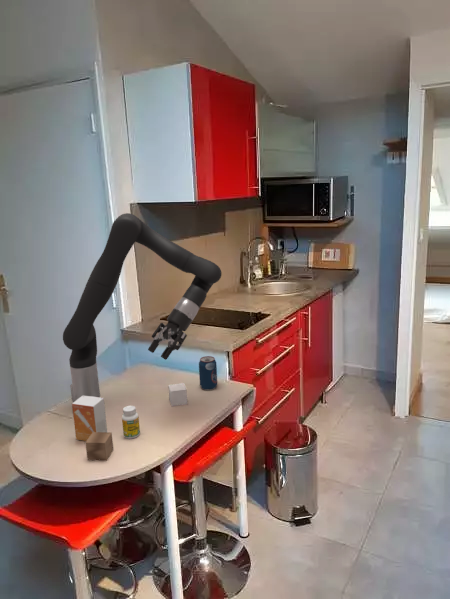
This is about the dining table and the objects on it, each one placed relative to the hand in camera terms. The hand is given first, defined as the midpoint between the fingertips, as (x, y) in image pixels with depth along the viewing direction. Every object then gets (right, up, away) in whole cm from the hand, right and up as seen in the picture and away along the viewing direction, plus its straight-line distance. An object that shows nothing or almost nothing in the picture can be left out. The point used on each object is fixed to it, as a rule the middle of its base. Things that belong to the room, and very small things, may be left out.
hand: (156, 354), depth 158 cm
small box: (-21, -27, -1) cm, 34 cm away
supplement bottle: (-8, -26, 0) cm, 28 cm away
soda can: (+16, -17, +33) cm, 40 cm away
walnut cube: (-16, -29, -11) cm, 35 cm away
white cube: (+5, -20, +22) cm, 30 cm away
